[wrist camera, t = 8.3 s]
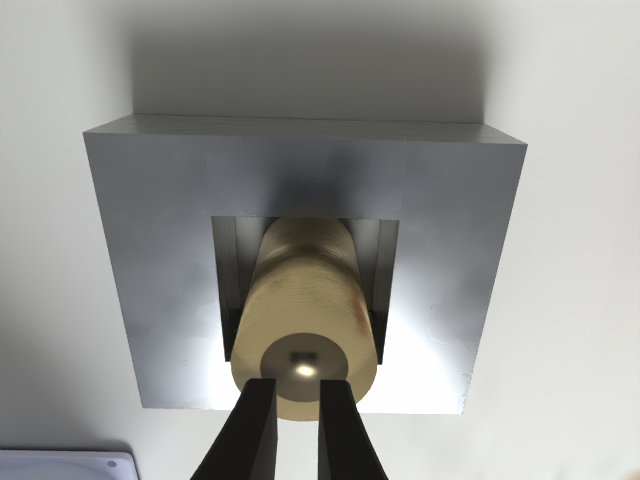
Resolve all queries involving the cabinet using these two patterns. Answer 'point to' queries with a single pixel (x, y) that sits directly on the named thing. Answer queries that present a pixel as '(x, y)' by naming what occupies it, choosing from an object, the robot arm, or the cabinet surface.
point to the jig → (305, 202)
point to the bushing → (305, 317)
